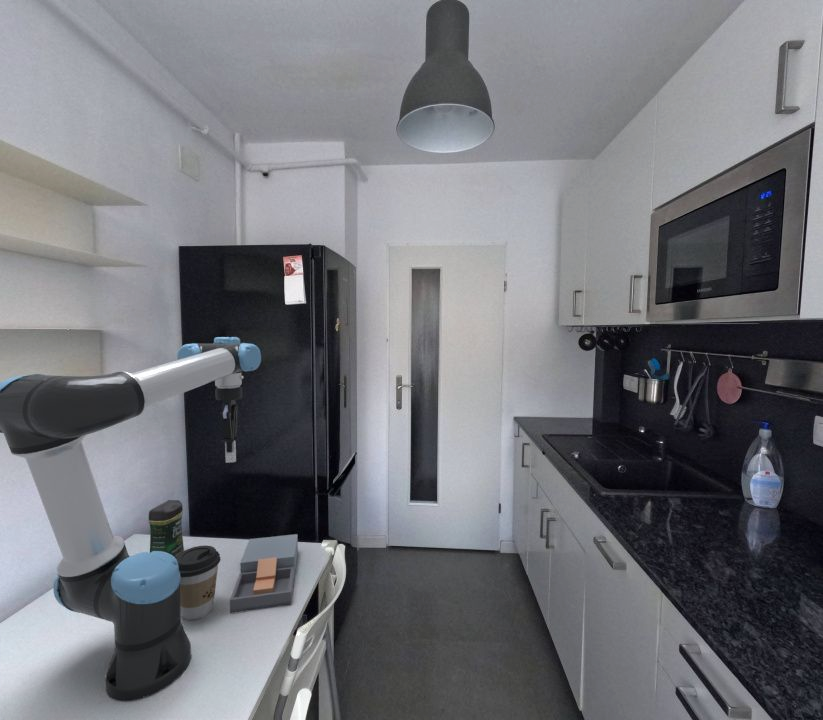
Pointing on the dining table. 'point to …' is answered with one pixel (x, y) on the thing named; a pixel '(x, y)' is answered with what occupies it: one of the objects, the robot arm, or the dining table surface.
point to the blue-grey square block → (270, 552)
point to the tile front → (264, 586)
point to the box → (247, 601)
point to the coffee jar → (166, 528)
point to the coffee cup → (197, 580)
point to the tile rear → (267, 568)
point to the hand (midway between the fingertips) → (230, 461)
